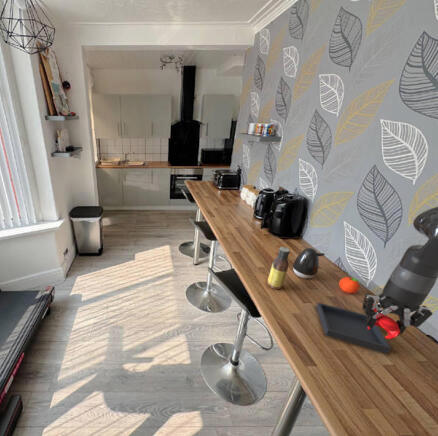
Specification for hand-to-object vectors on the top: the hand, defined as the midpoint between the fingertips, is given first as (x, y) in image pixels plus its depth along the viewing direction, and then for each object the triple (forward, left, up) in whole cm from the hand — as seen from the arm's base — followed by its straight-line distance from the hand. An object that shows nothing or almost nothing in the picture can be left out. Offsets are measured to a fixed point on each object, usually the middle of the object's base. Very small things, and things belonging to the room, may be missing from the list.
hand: (382, 328), depth 69 cm
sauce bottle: (+23, -30, -15) cm, 41 cm away
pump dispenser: (+9, -45, -15) cm, 48 cm away
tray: (-1, -15, -15) cm, 21 cm away
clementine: (-8, -40, -15) cm, 44 cm away
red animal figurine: (0, 0, -2) cm, 2 cm away
